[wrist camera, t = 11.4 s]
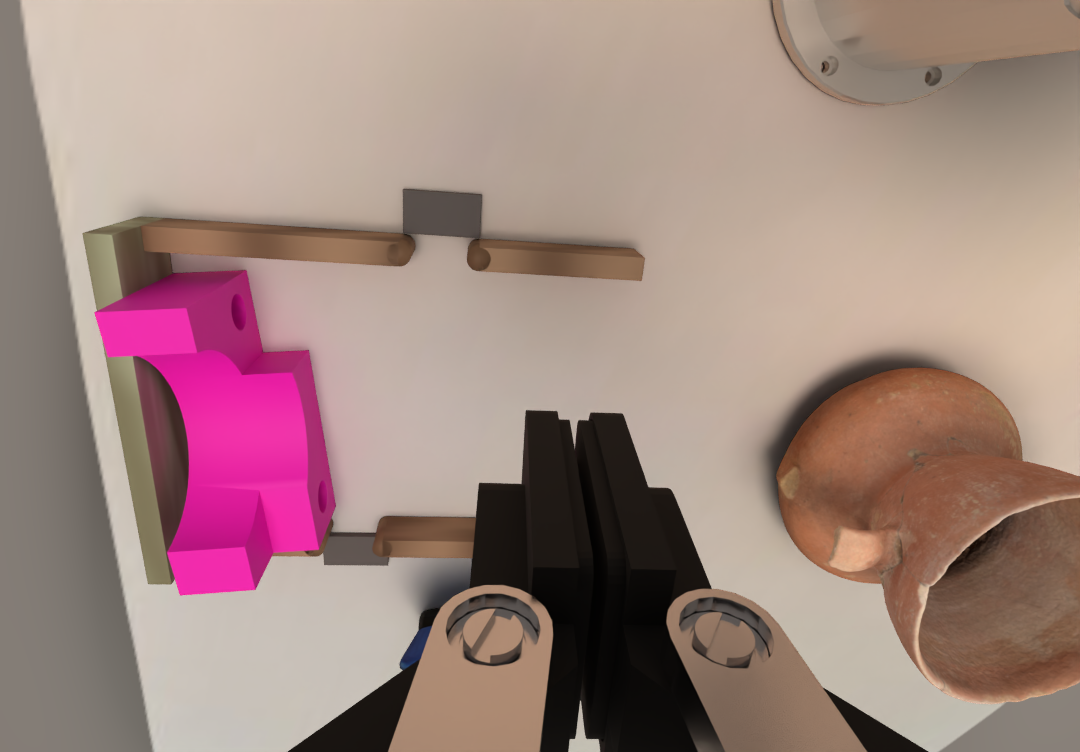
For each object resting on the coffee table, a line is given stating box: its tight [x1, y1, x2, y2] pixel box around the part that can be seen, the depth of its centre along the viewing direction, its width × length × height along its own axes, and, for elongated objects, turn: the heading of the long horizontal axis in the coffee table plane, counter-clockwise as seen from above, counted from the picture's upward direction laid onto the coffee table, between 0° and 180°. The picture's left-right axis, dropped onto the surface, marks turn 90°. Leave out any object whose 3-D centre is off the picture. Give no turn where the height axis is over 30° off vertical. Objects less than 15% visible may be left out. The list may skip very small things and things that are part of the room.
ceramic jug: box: [776, 368, 1080, 704], centre depth 35 cm, size 18×14×14 cm
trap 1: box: [323, 533, 389, 565], centre depth 40 cm, size 4×2×1 cm, turn 85°
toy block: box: [94, 270, 336, 595], centre depth 33 cm, size 15×6×8 cm, turn 1°
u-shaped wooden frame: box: [83, 217, 645, 584], centre depth 35 cm, size 26×19×5 cm
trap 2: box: [403, 189, 482, 238], centre depth 33 cm, size 4×2×1 cm, turn 86°
